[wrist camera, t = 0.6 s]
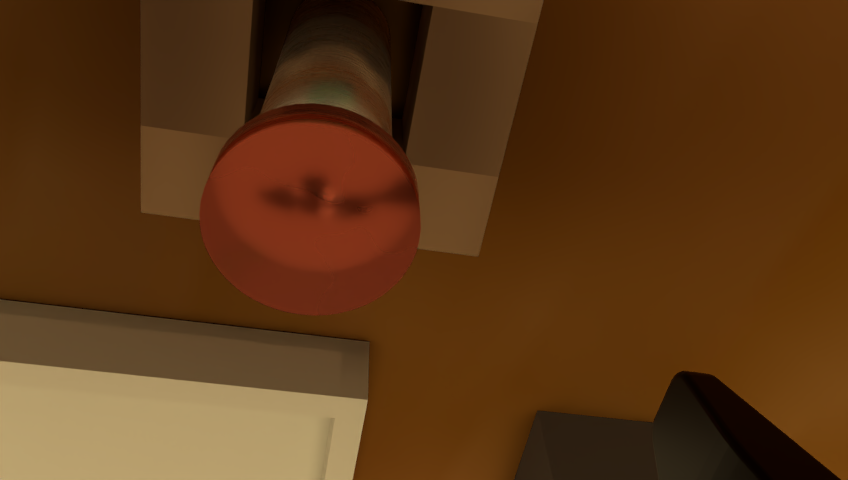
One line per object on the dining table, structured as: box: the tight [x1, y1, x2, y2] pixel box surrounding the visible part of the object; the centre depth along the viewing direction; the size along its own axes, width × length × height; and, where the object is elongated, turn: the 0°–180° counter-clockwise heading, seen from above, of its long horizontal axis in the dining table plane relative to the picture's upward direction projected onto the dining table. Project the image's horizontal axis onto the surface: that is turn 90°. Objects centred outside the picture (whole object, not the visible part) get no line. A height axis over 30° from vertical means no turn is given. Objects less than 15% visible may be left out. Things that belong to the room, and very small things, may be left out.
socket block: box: [140, 0, 544, 257], centre depth 18 cm, size 8×8×2 cm
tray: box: [0, 299, 369, 480], centre depth 25 cm, size 13×10×2 cm
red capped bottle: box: [199, 0, 421, 315], centre depth 15 cm, size 3×3×9 cm
